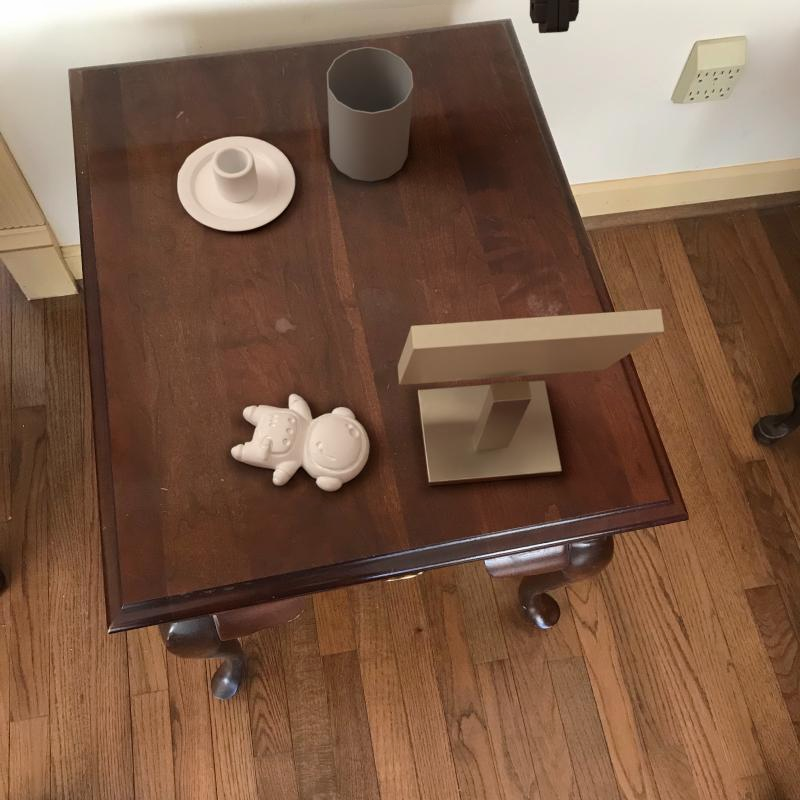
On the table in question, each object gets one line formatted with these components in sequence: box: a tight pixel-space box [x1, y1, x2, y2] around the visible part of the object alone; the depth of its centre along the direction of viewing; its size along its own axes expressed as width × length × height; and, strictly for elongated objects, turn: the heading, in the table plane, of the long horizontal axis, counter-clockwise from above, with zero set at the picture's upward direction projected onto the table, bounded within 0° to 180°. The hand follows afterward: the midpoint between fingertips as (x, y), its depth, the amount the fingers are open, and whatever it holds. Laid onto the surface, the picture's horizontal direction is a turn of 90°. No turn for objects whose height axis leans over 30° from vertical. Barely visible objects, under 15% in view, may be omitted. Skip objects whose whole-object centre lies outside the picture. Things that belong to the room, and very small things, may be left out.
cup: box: [326, 46, 414, 183], centre depth 85 cm, size 8×8×10 cm
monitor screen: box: [397, 308, 665, 386], centre depth 62 cm, size 2×17×13 cm, turn 96°
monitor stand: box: [416, 380, 563, 487], centre depth 71 cm, size 9×12×12 cm
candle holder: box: [176, 135, 296, 232], centre depth 85 cm, size 12×12×4 cm
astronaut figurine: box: [230, 393, 370, 492], centre depth 74 cm, size 9×12×3 cm
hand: (553, 31), depth 54 cm, fingers closed
